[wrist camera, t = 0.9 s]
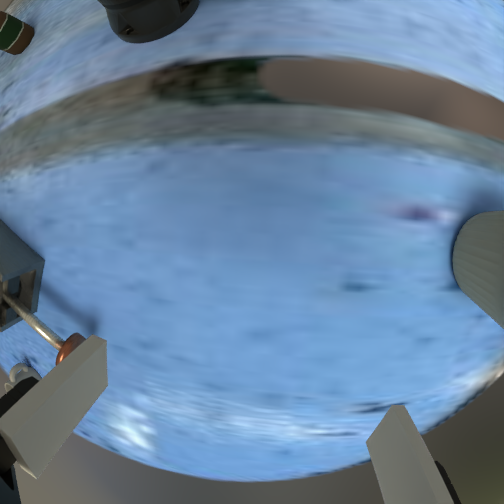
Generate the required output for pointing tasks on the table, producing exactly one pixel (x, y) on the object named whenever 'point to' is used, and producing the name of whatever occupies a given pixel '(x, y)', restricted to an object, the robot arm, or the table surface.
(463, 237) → the canister
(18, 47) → the beer bottle
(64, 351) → the plunger
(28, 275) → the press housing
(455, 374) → the table surface
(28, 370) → the cup
